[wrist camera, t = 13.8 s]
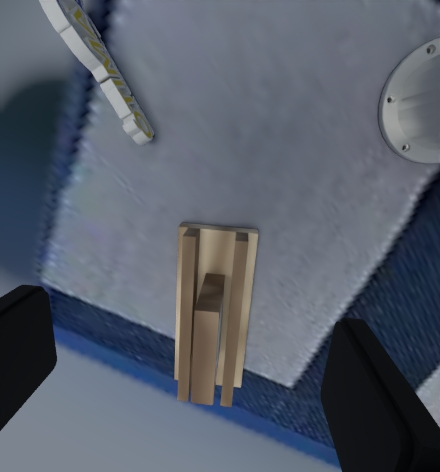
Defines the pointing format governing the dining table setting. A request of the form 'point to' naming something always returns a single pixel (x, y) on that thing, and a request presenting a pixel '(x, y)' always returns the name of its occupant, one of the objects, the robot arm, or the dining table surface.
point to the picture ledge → (234, 300)
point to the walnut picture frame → (207, 338)
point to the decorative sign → (98, 63)
